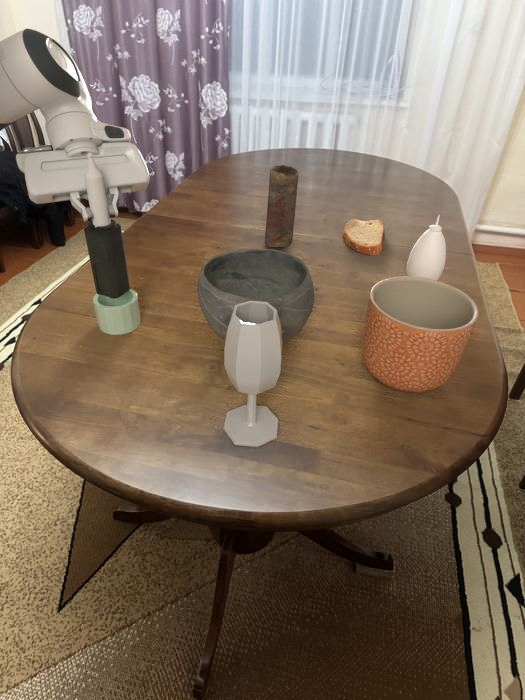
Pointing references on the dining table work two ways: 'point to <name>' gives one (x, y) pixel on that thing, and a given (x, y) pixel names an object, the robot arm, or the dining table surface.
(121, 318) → the holder
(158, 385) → the dining table surface
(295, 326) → the bowl
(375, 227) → the slice of bread
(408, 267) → the sauce bottle
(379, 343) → the planter
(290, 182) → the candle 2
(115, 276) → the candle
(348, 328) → the dining table surface
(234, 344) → the wineglass
